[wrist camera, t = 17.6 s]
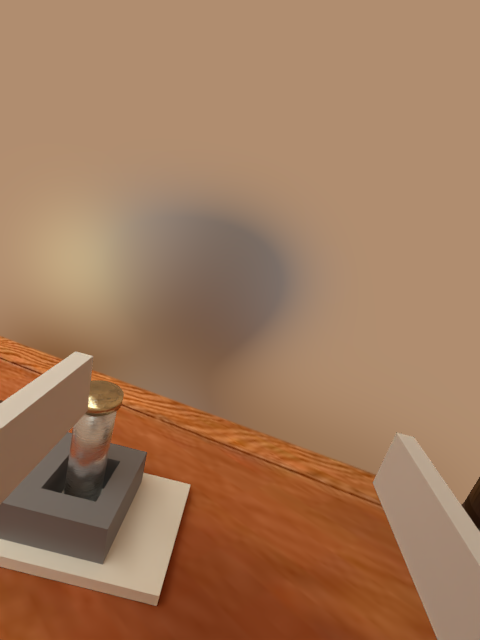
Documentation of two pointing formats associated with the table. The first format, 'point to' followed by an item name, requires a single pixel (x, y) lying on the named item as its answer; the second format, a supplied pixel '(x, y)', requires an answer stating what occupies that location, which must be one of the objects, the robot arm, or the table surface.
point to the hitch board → (126, 552)
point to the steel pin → (92, 442)
